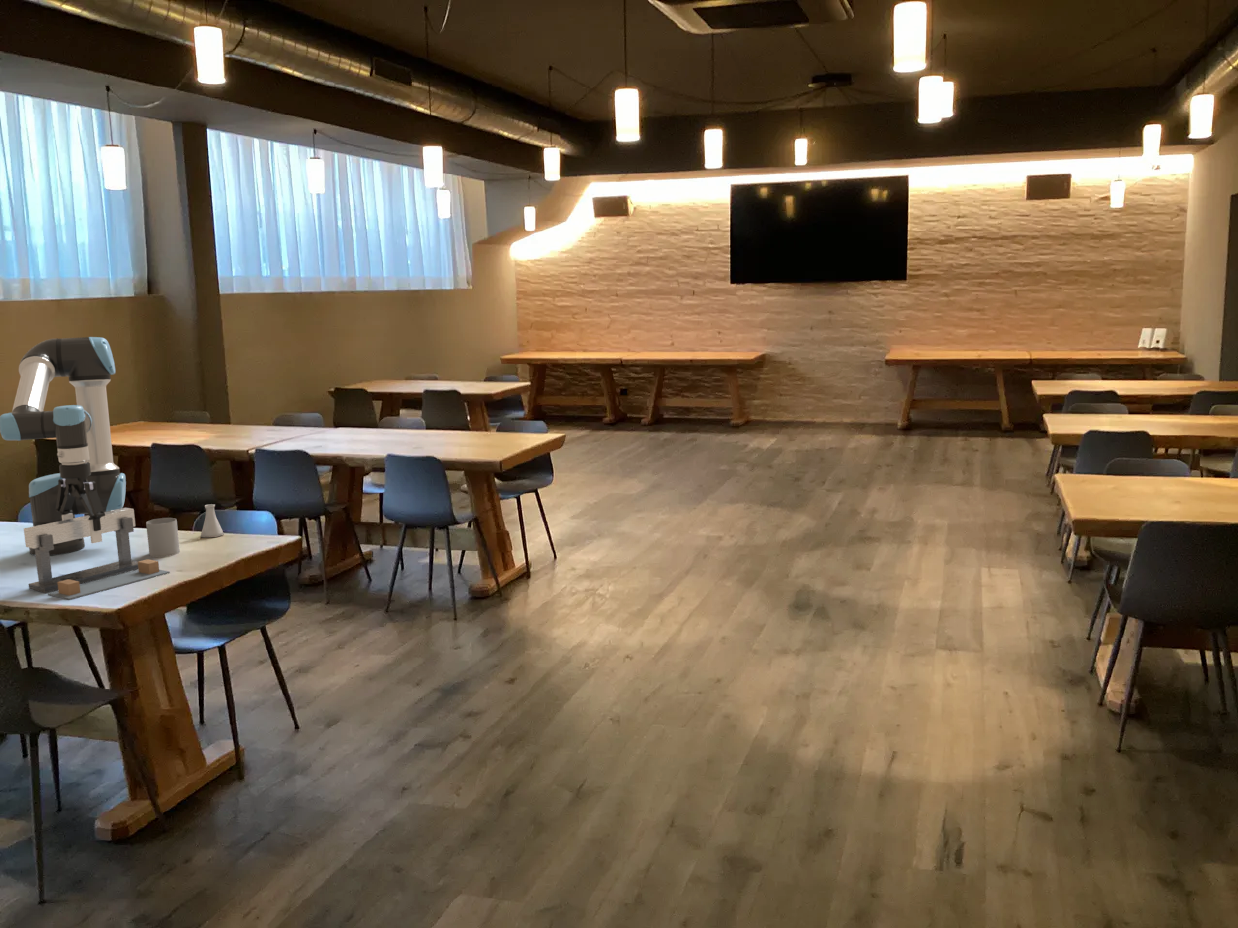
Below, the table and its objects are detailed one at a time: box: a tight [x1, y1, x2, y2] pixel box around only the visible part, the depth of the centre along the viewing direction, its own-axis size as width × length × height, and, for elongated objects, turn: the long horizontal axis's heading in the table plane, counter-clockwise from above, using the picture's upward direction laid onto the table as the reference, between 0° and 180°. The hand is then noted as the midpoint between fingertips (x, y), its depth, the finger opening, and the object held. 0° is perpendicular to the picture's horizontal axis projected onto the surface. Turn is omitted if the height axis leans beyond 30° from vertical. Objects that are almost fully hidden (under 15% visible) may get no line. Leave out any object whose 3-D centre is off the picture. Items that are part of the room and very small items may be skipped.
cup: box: [145, 517, 181, 558], centre depth 319 cm, size 8×8×10 cm
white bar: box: [23, 507, 136, 549], centre depth 291 cm, size 4×29×5 cm, turn 147°
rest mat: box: [47, 558, 171, 601], centre depth 288 cm, size 10×29×3 cm, turn 147°
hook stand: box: [28, 517, 139, 594], centre depth 293 cm, size 8×28×15 cm, turn 147°
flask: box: [200, 503, 224, 538], centre depth 341 cm, size 7×7×10 cm
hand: (83, 539), depth 292 cm, fingers open, 12 cm apart
